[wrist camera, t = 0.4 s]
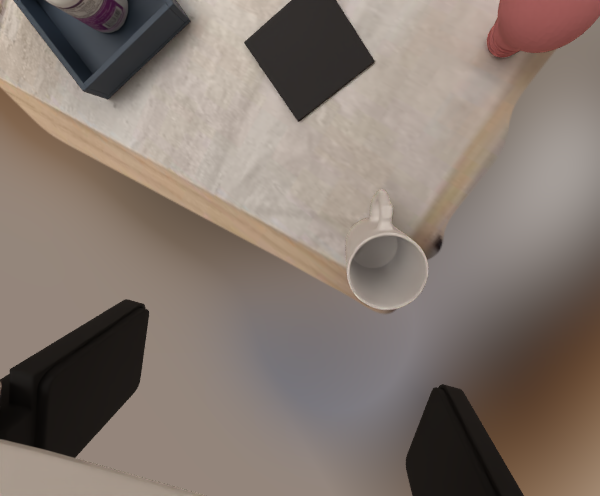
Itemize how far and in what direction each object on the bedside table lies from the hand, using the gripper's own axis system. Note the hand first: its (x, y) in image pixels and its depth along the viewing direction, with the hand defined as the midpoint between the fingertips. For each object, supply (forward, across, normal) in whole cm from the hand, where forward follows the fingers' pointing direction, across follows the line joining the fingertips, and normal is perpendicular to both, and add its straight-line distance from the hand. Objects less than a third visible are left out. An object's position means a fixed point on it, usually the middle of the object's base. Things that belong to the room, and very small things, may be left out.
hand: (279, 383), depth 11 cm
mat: (+30, +6, -18) cm, 36 cm away
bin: (+30, +28, -18) cm, 45 cm away
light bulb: (+31, -13, -23) cm, 40 cm away
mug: (+31, -6, -1) cm, 31 cm away
